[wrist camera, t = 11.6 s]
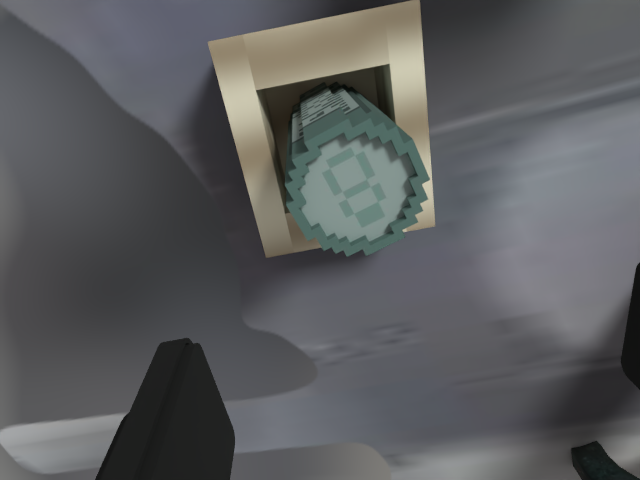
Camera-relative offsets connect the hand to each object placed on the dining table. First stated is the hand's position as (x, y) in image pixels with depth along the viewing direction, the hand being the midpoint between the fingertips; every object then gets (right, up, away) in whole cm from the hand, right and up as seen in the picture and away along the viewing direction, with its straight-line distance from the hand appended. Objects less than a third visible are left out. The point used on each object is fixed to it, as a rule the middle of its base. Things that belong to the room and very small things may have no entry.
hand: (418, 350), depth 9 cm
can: (-1, +11, +23) cm, 26 cm away
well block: (-2, +11, +24) cm, 26 cm away
